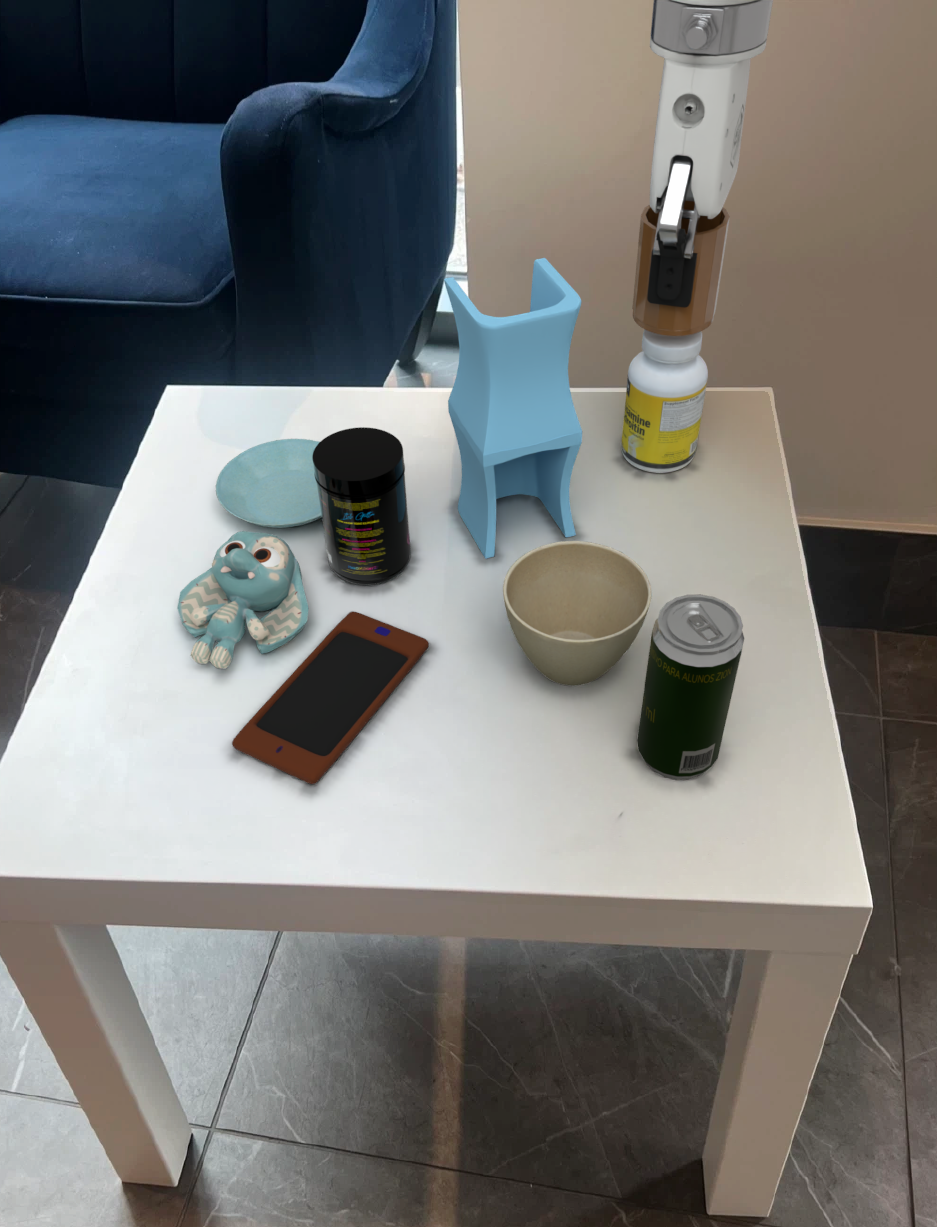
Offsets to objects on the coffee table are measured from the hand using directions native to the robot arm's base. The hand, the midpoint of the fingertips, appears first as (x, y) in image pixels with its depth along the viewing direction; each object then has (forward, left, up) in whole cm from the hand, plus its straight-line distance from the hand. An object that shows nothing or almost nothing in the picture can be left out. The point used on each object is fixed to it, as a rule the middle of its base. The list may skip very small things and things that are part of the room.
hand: (678, 279), depth 85 cm
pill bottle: (0, 0, -16) cm, 16 cm away
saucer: (+31, -9, -16) cm, 36 cm away
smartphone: (+36, +14, -16) cm, 42 cm away
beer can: (+17, +29, -16) cm, 37 cm away
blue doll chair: (+15, +2, -16) cm, 22 cm away
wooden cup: (0, 0, -3) cm, 3 cm away
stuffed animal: (+39, +4, -16) cm, 42 cm away
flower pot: (+19, +19, -16) cm, 31 cm away
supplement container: (+28, +1, -16) cm, 32 cm away
